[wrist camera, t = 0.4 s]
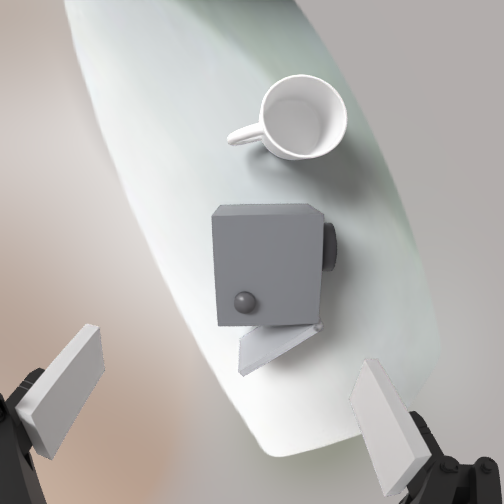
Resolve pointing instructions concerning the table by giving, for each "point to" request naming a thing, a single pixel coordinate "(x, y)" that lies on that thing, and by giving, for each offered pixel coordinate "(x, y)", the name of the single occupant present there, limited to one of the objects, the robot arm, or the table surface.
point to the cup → (297, 119)
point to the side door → (271, 343)
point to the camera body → (270, 263)
